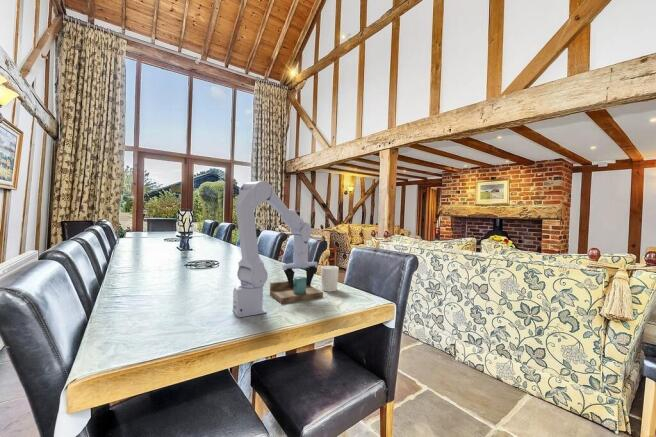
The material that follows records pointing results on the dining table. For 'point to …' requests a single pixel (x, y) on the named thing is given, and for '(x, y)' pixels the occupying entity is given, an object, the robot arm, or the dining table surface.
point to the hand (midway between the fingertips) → (299, 286)
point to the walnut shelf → (286, 295)
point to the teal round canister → (299, 286)
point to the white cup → (329, 278)
